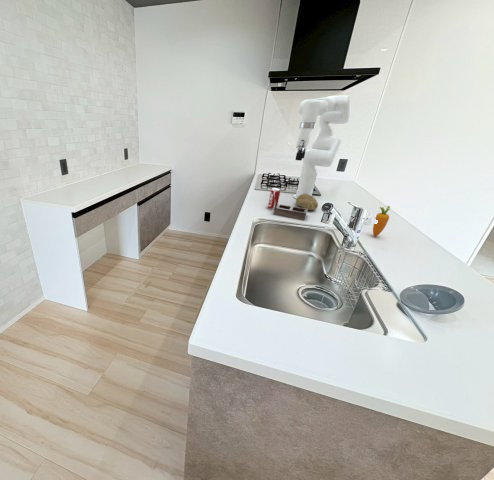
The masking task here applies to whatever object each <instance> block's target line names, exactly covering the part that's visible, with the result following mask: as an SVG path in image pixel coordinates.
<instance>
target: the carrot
mask: <svg viewBox="0 0 494 480" xmlns="http://www.w3.org/2000/svg"><path fill="white" fill-rule="evenodd" d="M379 209H380V210H381V212H378V213H377V214H376V215H375V218H374V220H375V219H376V220H378V223H377V224H374V223H373V225H372V234H373V237H378V236H379V235H380V234H381V233H382V232H383V231H384V229H385V228H386V226H387V224H388V222H389V219H390V215H389V214H387V213H388V212H389V211H390V209H391V206H390V205H387V207H386V209H385V208H384V207H382V206H379Z"/></svg>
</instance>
